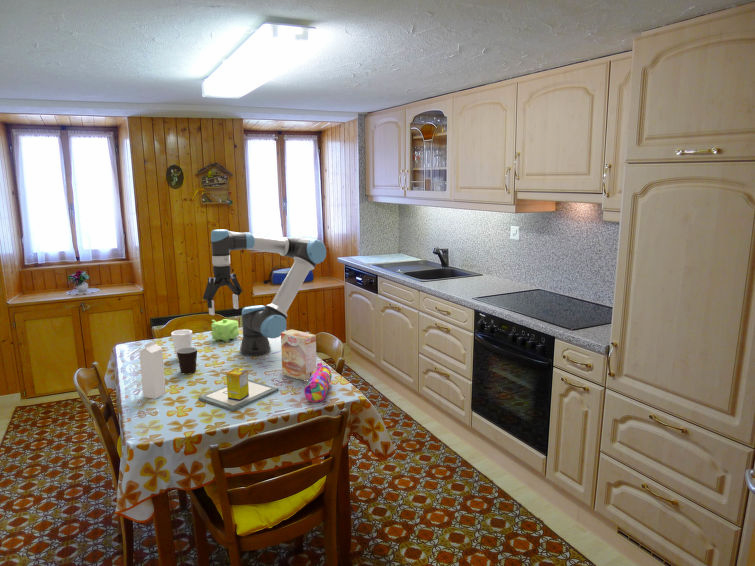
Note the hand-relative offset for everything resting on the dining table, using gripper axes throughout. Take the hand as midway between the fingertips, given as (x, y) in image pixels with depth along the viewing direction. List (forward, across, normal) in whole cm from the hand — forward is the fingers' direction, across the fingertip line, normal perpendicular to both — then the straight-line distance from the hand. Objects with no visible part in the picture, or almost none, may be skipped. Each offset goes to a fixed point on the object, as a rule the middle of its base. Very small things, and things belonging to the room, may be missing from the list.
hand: (224, 311), depth 236 cm
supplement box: (+26, -22, -32) cm, 47 cm away
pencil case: (+27, +2, -53) cm, 59 cm away
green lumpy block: (+27, +30, +37) cm, 55 cm away
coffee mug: (+27, -11, +12) cm, 31 cm away
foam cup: (+27, -2, +29) cm, 40 cm away
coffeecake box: (+27, +11, -34) cm, 45 cm away
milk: (+27, -37, 0) cm, 46 cm away
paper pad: (+27, -18, -28) cm, 43 cm away
